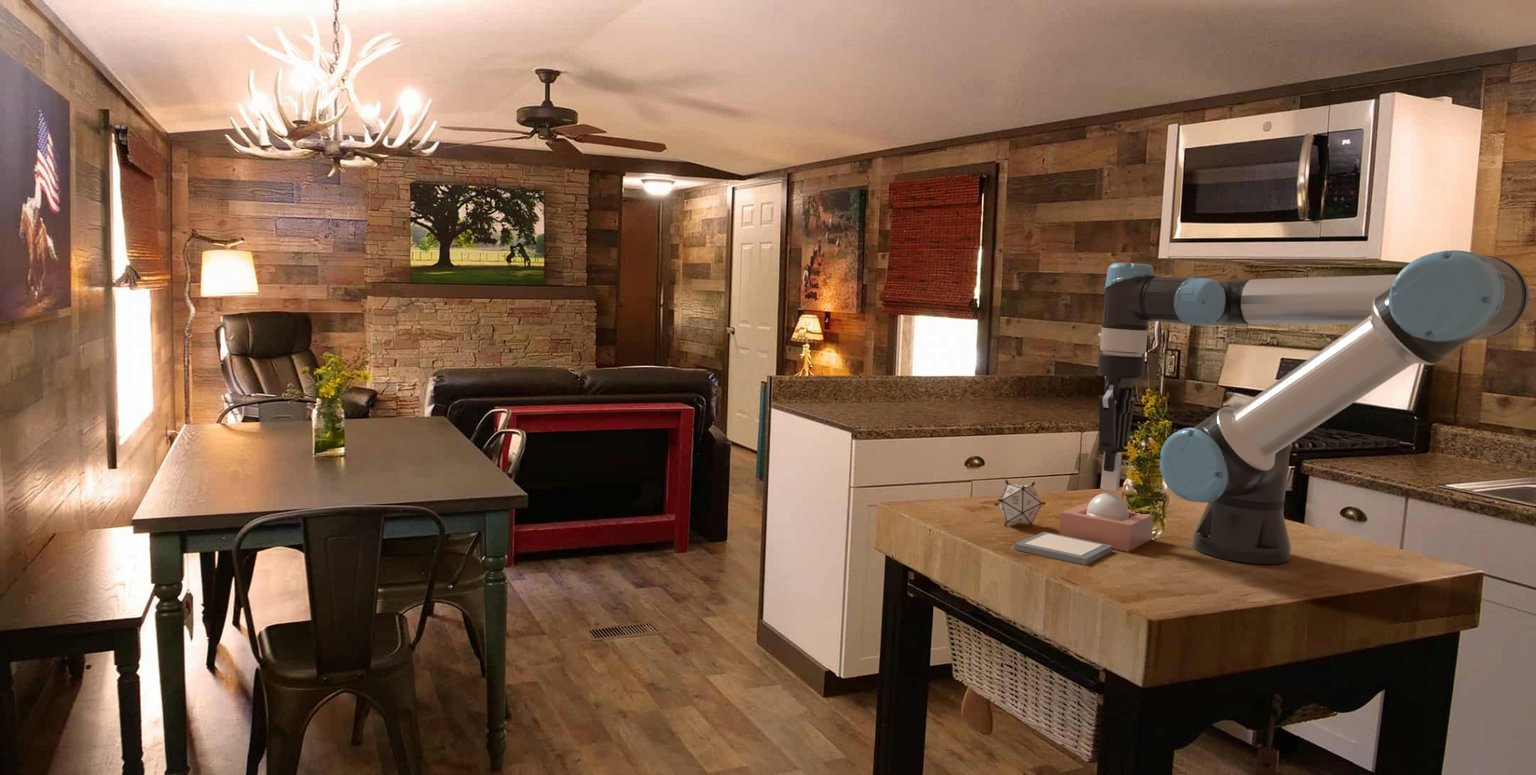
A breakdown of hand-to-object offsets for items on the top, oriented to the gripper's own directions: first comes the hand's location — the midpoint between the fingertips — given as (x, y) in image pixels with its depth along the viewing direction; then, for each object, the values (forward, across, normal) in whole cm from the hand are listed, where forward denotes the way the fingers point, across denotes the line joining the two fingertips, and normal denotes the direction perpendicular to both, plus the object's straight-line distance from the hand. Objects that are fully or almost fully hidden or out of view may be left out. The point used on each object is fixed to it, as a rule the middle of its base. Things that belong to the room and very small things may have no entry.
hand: (1109, 489), depth 182 cm
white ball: (+9, 0, 0) cm, 9 cm away
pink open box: (+9, 0, 0) cm, 9 cm away
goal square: (+9, +14, -2) cm, 17 cm away
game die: (+9, +3, -15) cm, 18 cm away
